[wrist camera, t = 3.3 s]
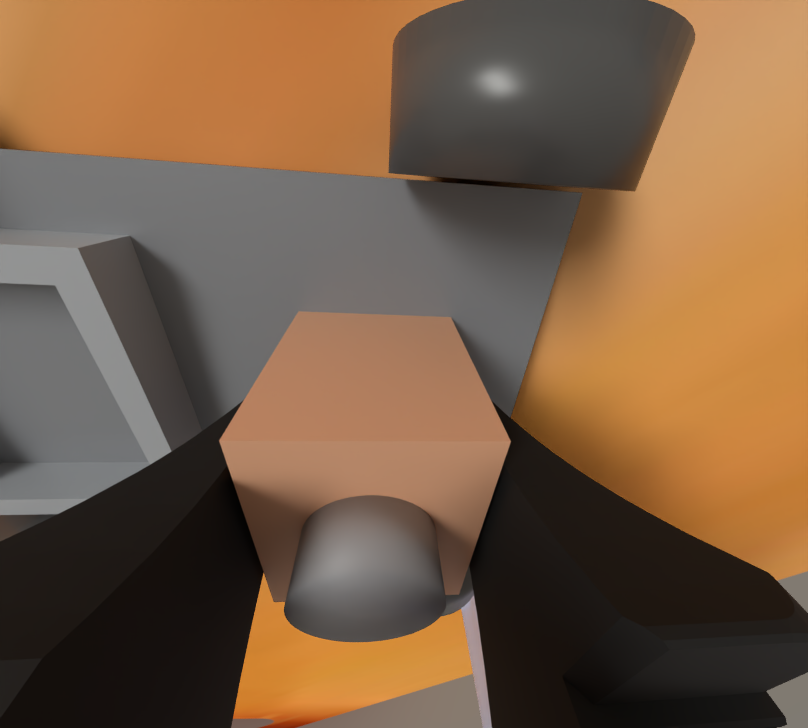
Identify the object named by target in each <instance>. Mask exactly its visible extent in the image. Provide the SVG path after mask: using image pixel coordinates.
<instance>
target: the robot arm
mask: <svg viewBox="0 0 808 728" xmlns="http://www.w3.org/2000/svg"><path fill="white" fill-rule="evenodd" d="M243 401H244V400H243ZM243 401H242V402H241V403H239V404H238V405H237V406H235V407H234V408H233V409H232V410H230V411H229V412H228V413H226V414H225V415H224V416H222V417H221V418H220V419H218V420H217V421H215V422H214V423H213V424H211V425H210V426H208V427H207V428H206V429H204V430H203V431H201V432H200V433H199V434H197V435H196V436H195V437H193V438H192V439H190V440H189V441H187V442H186V443H184V444H183V445H181V446H179V447H178V448H176V449H175V450H173V451H172V452H170V453H168V454H167V455H165V456H163V457H162V458H160V459H159V460H157V461H155V462H154V463H152V464H150V465H149V466H147V467H145V468H144V469H142V470H140V471H138V472H137V473H135V474H133V475H131V476H129V477H127V478H126V479H124V480H122V481H120V482H118V483H116V484H114V485H113V486H111V487H109V488H107V489H105V490H103V491H102V492H100V493H98V494H96V495H94V496H92V497H90V498H89V499H87V500H85V501H83V502H81V503H79V504H77V505H75V506H73V507H71V508H69V509H67V510H65V511H63V512H61V513H59V514H57V515H55V516H53V517H51V518H49V519H47V520H45V521H43V522H41V523H38V524H36V525H34V526H32V527H30V528H28V529H26V530H24V531H21V532H19V533H17V534H15V535H13V536H11V537H9V538H7V539H4V540H2V541H0V728H231V725H232V719H233V714H234V709H235V704H236V698H237V693H238V688H239V683H240V678H241V673H242V668H243V663H244V658H245V654H246V649H247V644H248V639H249V634H250V630H251V625H252V620H253V616H254V612H255V607H256V603H257V598H258V594H259V589H260V585H261V581H262V576H263V572H264V571H263V568H262V565H261V563H260V560H259V557H258V554H257V551H256V548H255V545H254V542H253V539H252V536H251V533H250V530H249V527H248V524H247V521H246V518H245V515H244V512H243V510H242V507H241V504H240V501H239V498H238V495H237V492H236V489H235V486H234V483H233V480H232V477H231V474H230V471H229V468H228V465H227V462H226V460H225V457H224V454H223V451H222V448H221V445H220V442H219V440H220V438H221V437H222V435H223V434H224V432H225V430H226V429H227V427H228V425H229V424H230V422H231V420H232V419H233V417H234V416H235V414H236V412H237V411H238V409H239V407H240V406H241V404H242V403H243ZM491 401H492V400H491ZM492 403H493V405H494V408H495V410H496V412H497V414H498V416H499V418H500V420H501V422H502V424H503V426H504V428H505V430H506V432H507V434H508V437H509V439H510V441H511V443H510V446H509V448H508V451H507V454H506V457H505V460H504V463H503V466H502V469H501V472H500V475H499V478H498V481H497V484H496V487H495V490H494V493H493V496H492V499H491V502H490V504H489V507H488V510H487V513H486V516H485V519H484V522H483V525H482V528H481V531H480V534H479V537H478V540H477V543H476V546H475V549H474V552H473V555H472V558H471V561H470V563H469V567H470V573H471V579H472V586H473V592H474V595H473V597H472V598H471V600H470V601H469V602H468V603H467V604H466V605H465V606H464V607H462V608H461V610H462V615H463V621H464V626H465V632H466V637H467V643H468V648H469V654H470V659H471V665H472V670H473V675H474V681H475V686H476V692H477V698H478V703H479V708H480V714H481V719H482V725H483V728H777V727H782V726H785V725H787V723H786V718H785V716H784V715H783V713H782V712H781V711H780V709H779V708H778V707H777V705H776V704H775V703H774V701H773V700H772V698H771V697H770V696H769V694H768V693H767V692H766V691H767V690H769V689H771V688H774V687H776V686H778V685H780V684H783V683H785V682H787V681H789V680H791V679H794V678H796V677H798V676H800V675H803V674H805V673H807V672H808V613H807V612H806V611H805V610H804V609H803V608H802V607H801V606H800V605H799V604H798V602H797V601H796V600H795V599H794V598H793V597H792V596H791V595H790V594H789V593H788V592H787V591H786V590H785V589H784V588H783V587H782V586H781V585H780V584H779V583H778V582H777V581H776V580H775V578H774V577H773V576H771V575H770V574H769V573H768V572H766V571H764V570H762V569H760V568H758V567H755V566H753V565H751V564H749V563H747V562H745V561H743V560H741V559H739V558H737V557H735V556H733V555H731V554H728V553H726V552H724V551H722V550H720V549H718V548H716V547H714V546H712V545H710V544H708V543H706V542H704V541H702V540H699V539H697V538H695V537H693V536H691V535H689V534H687V533H685V532H683V531H681V530H680V529H678V528H676V527H674V526H672V525H670V524H668V523H667V522H665V521H663V520H661V519H659V518H657V517H655V516H654V515H652V514H650V513H648V512H646V511H644V510H643V509H641V508H639V507H637V506H636V505H634V504H632V503H630V502H629V501H627V500H625V499H623V498H622V497H620V496H618V495H617V494H615V493H613V492H612V491H610V490H609V489H607V488H605V487H604V486H602V485H600V484H599V483H597V482H596V481H594V480H592V479H591V478H589V477H588V476H586V475H585V474H583V473H582V472H580V471H579V470H577V469H576V468H574V467H573V466H571V465H570V464H568V463H567V462H566V461H564V460H563V459H561V458H560V457H559V456H557V455H556V454H554V453H553V452H552V451H550V450H549V449H548V448H546V447H545V446H544V445H542V444H541V443H540V442H538V441H537V440H536V439H535V438H534V437H532V436H531V435H530V434H529V433H527V432H526V431H525V430H524V429H523V428H521V427H520V426H519V425H518V424H517V423H516V422H514V421H513V420H512V419H511V418H510V417H509V416H508V415H507V414H505V413H504V412H503V411H502V410H501V409H500V408H499V407H498V406H497V405H496V404H495V403H494V402H493V401H492Z"/></svg>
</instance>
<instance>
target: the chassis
mask: <svg viewBox="0 0 808 728" xmlns="http://www.w3.org/2000/svg"><path fill="white" fill-rule="evenodd" d="M694 41H695V32H694V29H693V26H692V25H691V24H690V23H689V22H688V20H687V19H686V18H685V17H683V16H682V15H680V14H679V13H677V12H676V11H674V10H672V9H670V8H667V7H665V6H663V5H660V4H658V3H655V2H651V1H648V0H464V1H460V2H456V3H452V4H449V5H446V6H443V7H441V8H438V9H435V10H432V11H430V12H428V13H426V14H424V15H421V16H419V17H418V18H416V19H414V20H413V21H411V22H410V23H408V24H407V25H406V26H405V27H403V28H402V29H401V30H400V31H399V33H398V34H397V36H396V37H395V39H394V43H393V59H392V89H391V118H390V148H389V173H395V174H406V175H418V176H430V177H443V178H455V179H468V180H481V181H494V182H508V183H521V184H535V185H548V186H562V187H576V188H590V189H605V190H620V191H635V190H636V188H637V185H638V183H639V180H640V178H641V175H642V173H643V170H644V168H645V165H646V163H647V160H648V158H649V155H650V153H651V150H652V148H653V145H654V143H655V140H656V137H657V135H658V132H659V130H660V127H661V125H662V122H663V120H664V117H665V115H666V112H667V110H668V107H669V105H670V102H671V100H672V97H673V95H674V92H675V90H676V87H677V85H678V82H679V80H680V77H681V75H682V72H683V70H684V67H685V64H686V62H687V59H688V57H689V54H690V52H691V49H692V47H693V44H694ZM581 196H582V193H579V192H567V191H555V190H542V189H529V188H516V187H502V186H489V185H476V184H463V183H450V182H436V181H423V180H410V179H397V178H383V177H370V176H357V175H344V174H331V173H317V172H304V171H291V170H278V169H265V168H251V167H238V166H225V165H212V164H198V163H185V162H172V161H159V160H146V159H132V158H119V157H106V156H93V155H80V154H66V153H53V152H40V151H27V150H13V149H0V541H2V540H4V539H7V538H9V537H11V536H13V535H15V534H17V533H19V532H21V531H24V530H26V529H28V528H30V527H32V526H34V525H36V524H38V523H41V522H43V521H45V520H47V519H49V518H51V517H53V516H55V515H57V514H59V513H61V512H63V511H65V510H67V509H69V508H71V507H73V506H75V505H77V504H79V503H81V502H83V501H85V500H87V499H89V498H90V497H92V496H94V495H96V494H98V493H100V492H102V491H103V490H105V489H107V488H109V487H111V486H113V485H114V484H116V483H118V482H120V481H122V480H124V479H126V478H127V477H129V476H131V475H133V474H135V473H137V472H138V471H140V470H142V469H144V468H145V467H147V466H149V465H150V464H152V463H154V462H155V461H157V460H159V459H160V458H162V457H163V456H165V455H167V454H168V453H170V452H172V451H173V450H175V449H176V448H178V447H179V446H181V445H183V444H184V443H186V442H187V441H189V440H190V439H192V438H193V437H195V436H196V435H197V434H199V433H200V432H201V431H203V430H204V429H206V428H207V427H208V426H210V425H211V424H213V423H214V422H215V421H217V420H218V419H220V418H221V417H222V416H224V415H225V414H226V413H228V412H229V411H230V410H232V409H233V408H234V407H235V406H237V405H238V404H239V403H241V402H242V401H243V400H244V399H245V398H246V396H247V394H248V393H249V391H250V389H251V388H252V386H253V385H254V383H255V381H256V380H257V378H258V376H259V375H260V373H261V372H262V370H263V368H264V367H265V365H266V363H267V362H268V360H269V358H270V357H271V355H272V354H273V352H274V350H275V349H276V347H277V345H278V344H279V342H280V341H281V339H282V337H283V336H284V334H285V332H286V331H287V329H288V327H289V326H290V324H291V323H292V321H293V319H294V318H295V316H296V314H297V313H298V311H302V312H328V313H355V314H381V315H408V316H434V317H451V319H452V321H453V323H454V325H455V327H456V329H457V331H458V333H459V335H460V337H461V339H462V341H463V343H464V345H465V348H466V350H467V352H468V354H469V356H470V358H471V360H472V362H473V364H474V366H475V368H476V370H477V372H478V374H479V377H480V379H481V381H482V383H483V385H484V387H485V389H486V391H487V393H488V395H489V397H490V399H491V400H492V401H493V402H494V403H495V404H496V405H497V406H498V407H499V408H500V409H501V410H502V411H503V412H504V413H505V414H507V415H508V416H509V417H511V414H512V411H513V408H514V405H515V402H516V399H517V395H518V392H519V389H520V386H521V383H522V380H523V377H524V374H525V370H526V367H527V364H528V361H529V358H530V355H531V352H532V349H533V345H534V342H535V339H536V336H537V333H538V330H539V327H540V324H541V320H542V317H543V314H544V311H545V308H546V305H547V302H548V299H549V295H550V292H551V289H552V286H553V283H554V280H555V277H556V274H557V270H558V267H559V264H560V261H561V258H562V255H563V252H564V249H565V246H566V242H567V239H568V236H569V233H570V230H571V227H572V224H573V221H574V217H575V214H576V211H577V208H578V205H579V202H580V199H581ZM473 595H474V592H473V586H472V579H471V573H470V567H469V566H468V569H467V572H466V575H465V578H464V581H463V584H462V587H461V590H460V593H459V595H446V602H447V603H446V608H445V611H444V612H443V614H442V615H441V616H445V615H448V614H452V613H454V612H456V611H458V610H459V609H461V608H462V607H464V606H465V605H466V604H467V603H468V602H469V601H470V600H471V598H472V597H473Z"/></svg>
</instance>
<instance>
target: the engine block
mask: <svg viewBox="0 0 808 728" xmlns="http://www.w3.org/2000/svg"><path fill="white" fill-rule="evenodd" d="M219 442H220V445H221V448H222V451H223V454H224V457H225V460H226V462H227V465H228V468H229V471H230V474H231V477H232V480H233V483H234V486H235V489H236V492H237V495H238V498H239V501H240V504H241V507H242V510H243V512H244V515H245V518H246V521H247V524H248V527H249V530H250V533H251V536H252V539H253V542H254V545H255V548H256V551H257V554H258V557H259V560H260V563H261V565H262V568H263V571H264V574H265V577H266V580H267V583H268V586H269V589H270V592H271V595H272V598H273V601H274V602H285V607H284V613H285V616H286V618H287V620H288V621H289V622H290V624H292V625H293V626H294V627H295V628H297V629H299V630H300V631H302V632H304V633H306V634H309V635H312V636H315V637H319V638H323V639H328V640H334V641H343V642H372V641H381V640H388V639H393V638H398V637H402V636H405V635H409V634H412V633H414V632H417V631H419V630H421V629H424V628H426V627H427V626H429V625H431V624H432V623H434V622H435V621H436V620H437V619H438V618H439V617H440V616H441V615H442V614H443V612H444V611H445V608H446V603H447V602H446V595H459V593H460V590H461V587H462V584H463V581H464V578H465V575H466V572H467V569H468V566H469V563H470V561H471V558H472V555H473V552H474V549H475V546H476V543H477V540H478V537H479V534H480V531H481V528H482V525H483V522H484V519H485V516H486V513H487V510H488V507H489V504H490V502H491V499H492V496H493V493H494V490H495V487H496V484H497V481H498V478H499V475H500V472H501V469H502V466H503V463H504V460H505V457H506V454H507V451H508V448H509V446H510V443H511V441H510V439H509V437H508V434H507V432H506V430H505V428H504V426H503V424H502V422H501V420H500V418H499V416H498V414H497V412H496V410H495V408H494V405H493V403H492V401H491V399H490V397H489V395H488V393H487V391H486V389H485V387H484V385H483V383H482V381H481V379H480V377H479V374H478V372H477V370H476V368H475V366H474V364H473V362H472V360H471V358H470V356H469V354H468V352H467V350H466V348H465V345H464V343H463V341H462V339H461V337H460V335H459V333H458V331H457V329H456V327H455V325H454V323H453V321H452V319H451V317H434V316H408V315H381V314H355V313H328V312H302V311H298V313H297V314H296V316H295V318H294V319H293V321H292V323H291V324H290V326H289V327H288V329H287V331H286V332H285V334H284V336H283V337H282V339H281V341H280V342H279V344H278V345H277V347H276V349H275V350H274V352H273V354H272V355H271V357H270V358H269V360H268V362H267V363H266V365H265V367H264V368H263V370H262V372H261V373H260V375H259V376H258V378H257V380H256V381H255V383H254V385H253V386H252V388H251V389H250V391H249V393H248V394H247V396H246V398H245V399H244V401H243V403H242V404H241V406H240V407H239V409H238V411H237V412H236V414H235V416H234V417H233V419H232V420H231V422H230V424H229V425H228V427H227V429H226V430H225V432H224V434H223V435H222V437H221V438H220V440H219Z"/></svg>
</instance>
